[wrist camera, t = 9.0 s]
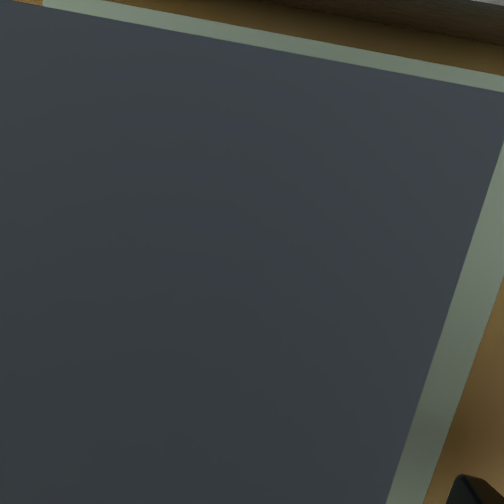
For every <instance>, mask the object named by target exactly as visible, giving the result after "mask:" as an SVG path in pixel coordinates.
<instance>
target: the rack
mask: <svg viewBox="0 0 504 504" xmlns="http://www.w3.org/2000/svg"><path fill="white" fill-rule="evenodd" d="M259 1H264V2H270V3H275V4H281V5H286V6H291V7H297V8H302V9H307V10H313V11H318V12H324V13H329V14H334V15H340V16H345V17H351V18H356V19H361V20H367V21H372V22H378V23H383V24H388V25H394V26H399V27H404V28H410V29H415V30H421V31H426V32H431V33H437V34H442V35H448V36H453V37H458V38H464V39H469V40H474V41H480V42H485V43H491V44H496V45H501V46H504V0H259Z"/></svg>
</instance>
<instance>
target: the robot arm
mask: <svg viewBox="0 0 504 504" xmlns="http://www.w3.org/2000/svg"><path fill="white" fill-rule="evenodd" d="M446 504H504V497H503V496H502V495H501V494H500V493H498V492H497V491H496V490H495V489H494V488H493V487H492V486H491V485H489V484H488V483H487V482H486V481H485V480H483V479H481V478H477V477H473V476H468V475H464V474H461V475H458V476H457V477H456V479H455V481H454V483H453V486H452V489H451V491H450V494H449V497H448V499H447V502H446Z"/></svg>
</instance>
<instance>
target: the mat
mask: <svg viewBox="0 0 504 504" xmlns="http://www.w3.org/2000/svg"><path fill="white" fill-rule="evenodd" d="M43 6H45V7H50V8H55V9H61V10H66V11H71V12H77V13H82V14H87V15H93V16H98V17H103V18H109V19H114V20H119V21H125V22H130V23H135V24H141V25H146V26H152V27H157V28H162V29H168V30H173V31H178V32H184V33H189V34H194V35H200V36H205V37H210V38H216V39H221V40H226V41H232V42H237V43H242V44H248V45H253V46H259V47H264V48H269V49H275V50H280V51H285V52H291V53H296V54H301V55H307V56H312V57H317V58H323V59H328V60H333V61H339V62H344V63H349V64H355V65H360V66H366V67H371V68H376V69H382V70H387V71H392V72H398V73H403V74H408V75H414V76H419V77H424V78H430V79H435V80H440V81H446V82H451V83H456V84H462V85H467V86H472V87H478V88H483V89H489V90H494V91H499V92H504V76H501V75H495V74H490V73H485V72H479V71H474V70H469V69H464V68H458V67H453V66H448V65H442V64H437V63H432V62H426V61H421V60H416V59H411V58H405V57H400V56H395V55H389V54H384V53H379V52H374V51H368V50H363V49H358V48H352V47H347V46H342V45H337V44H331V43H326V42H321V41H315V40H310V39H305V38H299V37H294V36H289V35H284V34H278V33H273V32H268V31H262V30H257V29H252V28H247V27H241V26H236V25H231V24H225V23H220V22H215V21H210V20H204V19H199V18H194V17H188V16H183V15H178V14H172V13H167V12H162V11H157V10H151V9H146V8H141V7H135V6H130V5H125V4H120V3H114V2H109V1H104V0H43ZM503 278H504V142H503V145H502V148H501V152H500V155H499V158H498V161H497V164H496V167H495V170H494V173H493V176H492V179H491V182H490V185H489V188H488V191H487V194H486V197H485V201H484V204H483V207H482V210H481V213H480V216H479V219H478V222H477V225H476V228H475V231H474V234H473V237H472V240H471V243H470V247H469V250H468V253H467V256H466V259H465V262H464V265H463V268H462V271H461V274H460V277H459V280H458V283H457V286H456V289H455V292H454V296H453V299H452V302H451V305H450V308H449V311H448V314H447V317H446V320H445V323H444V326H443V329H442V332H441V335H440V338H439V342H438V345H437V348H436V351H435V354H434V357H433V360H432V363H431V366H430V369H429V372H428V375H427V378H426V381H425V384H424V388H423V391H422V394H421V397H420V400H419V403H418V406H417V409H416V412H415V415H414V418H413V421H412V424H411V427H410V430H409V433H408V437H407V440H406V443H405V446H404V449H403V452H402V455H401V458H400V461H399V464H398V467H397V470H396V473H395V476H394V479H393V483H392V486H391V489H390V492H389V495H388V498H387V501H386V504H423V501H424V498H425V496H426V493H427V490H428V487H429V484H430V482H431V479H432V476H433V473H434V470H435V468H436V465H437V462H438V459H439V456H440V454H441V451H442V448H443V445H444V442H445V440H446V437H447V434H448V431H449V429H450V426H451V423H452V420H453V417H454V415H455V412H456V409H457V406H458V403H459V401H460V398H461V395H462V392H463V389H464V387H465V384H466V381H467V378H468V375H469V373H470V370H471V367H472V364H473V361H474V359H475V356H476V353H477V350H478V347H479V345H480V342H481V339H482V336H483V333H484V331H485V328H486V325H487V322H488V319H489V317H490V314H491V311H492V308H493V305H494V303H495V300H496V297H497V294H498V292H499V289H500V286H501V283H502V280H503Z"/></svg>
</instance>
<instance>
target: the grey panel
mask: <svg viewBox="0 0 504 504" xmlns="http://www.w3.org/2000/svg"><path fill="white" fill-rule="evenodd" d="M503 142H504V92H499V91H494V90H489V89H483V88H478V87H472V86H467V85H462V84H456V83H451V82H446V81H440V80H435V79H430V78H424V77H419V76H414V75H408V74H403V73H398V72H392V71H387V70H382V69H376V68H371V67H366V66H360V65H355V64H349V63H344V62H339V61H333V60H328V59H323V58H317V57H312V56H307V55H301V54H296V53H291V52H285V51H280V50H275V49H269V48H264V47H259V46H253V45H248V44H242V43H237V42H232V41H226V40H221V39H216V38H210V37H205V36H200V35H194V34H189V33H184V32H178V31H173V30H168V29H162V28H157V27H152V26H146V25H141V24H135V23H130V22H125V21H119V20H114V19H109V18H103V17H98V16H93V15H87V14H82V13H77V12H71V11H66V10H61V9H55V8H50V7H45V6H39V5H34V4H28V3H23V2H18V1H12V0H0V504H386V501H387V498H388V495H389V492H390V489H391V486H392V483H393V479H394V476H395V473H396V470H397V467H398V464H399V461H400V458H401V455H402V452H403V449H404V446H405V443H406V440H407V437H408V433H409V430H410V427H411V424H412V421H413V418H414V415H415V412H416V409H417V406H418V403H419V400H420V397H421V394H422V391H423V388H424V384H425V381H426V378H427V375H428V372H429V369H430V366H431V363H432V360H433V357H434V354H435V351H436V348H437V345H438V342H439V338H440V335H441V332H442V329H443V326H444V323H445V320H446V317H447V314H448V311H449V308H450V305H451V302H452V299H453V296H454V292H455V289H456V286H457V283H458V280H459V277H460V274H461V271H462V268H463V265H464V262H465V259H466V256H467V253H468V250H469V247H470V243H471V240H472V237H473V234H474V231H475V228H476V225H477V222H478V219H479V216H480V213H481V210H482V207H483V204H484V201H485V197H486V194H487V191H488V188H489V185H490V182H491V179H492V176H493V173H494V170H495V167H496V164H497V161H498V158H499V155H500V152H501V148H502V145H503Z"/></svg>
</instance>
